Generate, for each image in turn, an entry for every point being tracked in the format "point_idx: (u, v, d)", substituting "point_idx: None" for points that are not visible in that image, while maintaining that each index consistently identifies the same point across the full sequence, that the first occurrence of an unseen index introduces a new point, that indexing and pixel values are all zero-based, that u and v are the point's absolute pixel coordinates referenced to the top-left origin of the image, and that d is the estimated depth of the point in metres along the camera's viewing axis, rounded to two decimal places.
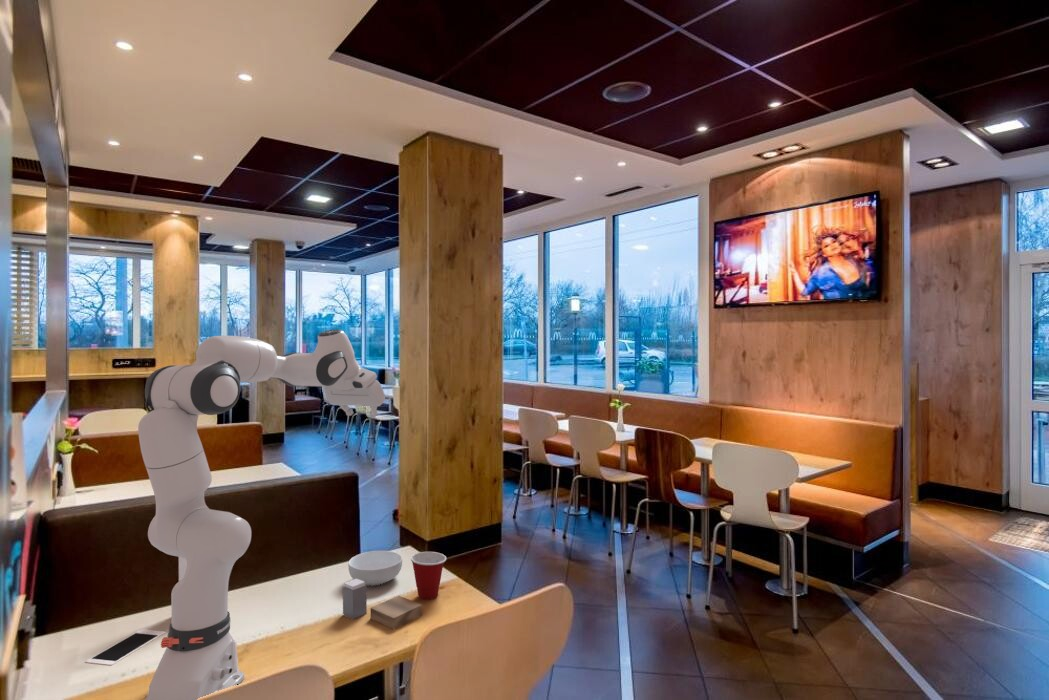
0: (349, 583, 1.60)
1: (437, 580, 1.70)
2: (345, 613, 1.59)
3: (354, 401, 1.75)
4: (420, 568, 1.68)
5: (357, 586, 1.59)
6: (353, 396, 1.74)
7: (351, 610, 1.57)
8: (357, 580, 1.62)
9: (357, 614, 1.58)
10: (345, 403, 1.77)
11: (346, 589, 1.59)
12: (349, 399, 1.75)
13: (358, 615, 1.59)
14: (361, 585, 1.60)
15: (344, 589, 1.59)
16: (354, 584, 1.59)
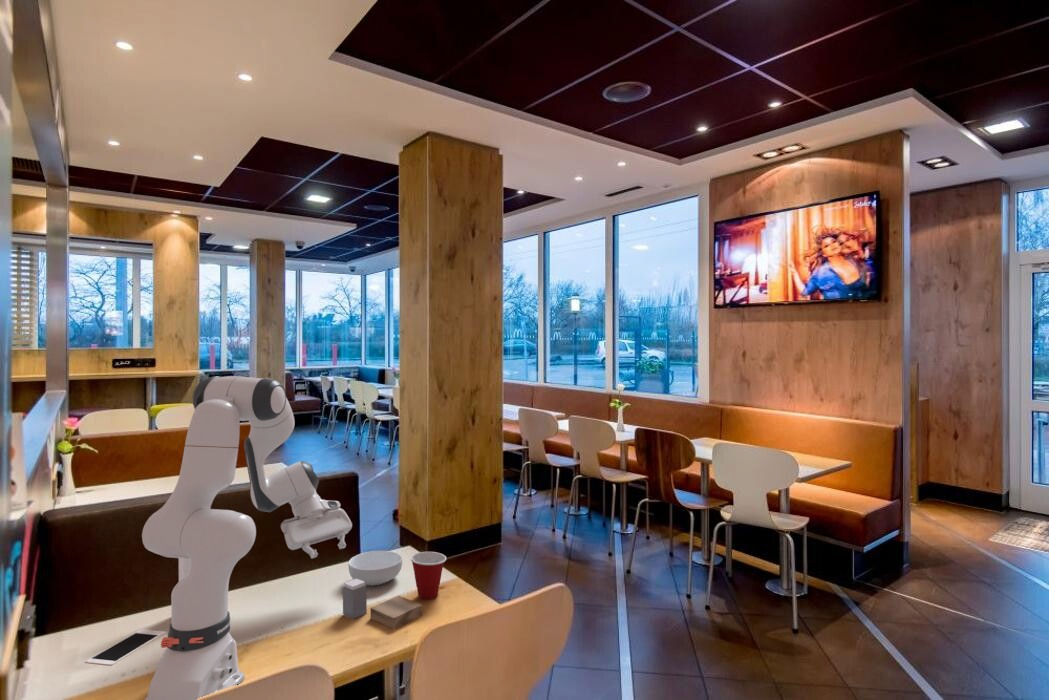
0: (349, 583, 1.60)
1: (437, 580, 1.70)
2: (345, 613, 1.59)
3: (325, 530, 1.70)
4: (420, 568, 1.68)
5: (357, 586, 1.59)
6: (324, 524, 1.72)
7: (351, 610, 1.57)
8: (357, 580, 1.62)
9: (357, 614, 1.58)
10: (314, 535, 1.67)
11: (346, 589, 1.59)
12: (319, 529, 1.70)
13: (358, 615, 1.59)
14: (361, 585, 1.60)
15: (344, 589, 1.59)
16: (354, 584, 1.59)
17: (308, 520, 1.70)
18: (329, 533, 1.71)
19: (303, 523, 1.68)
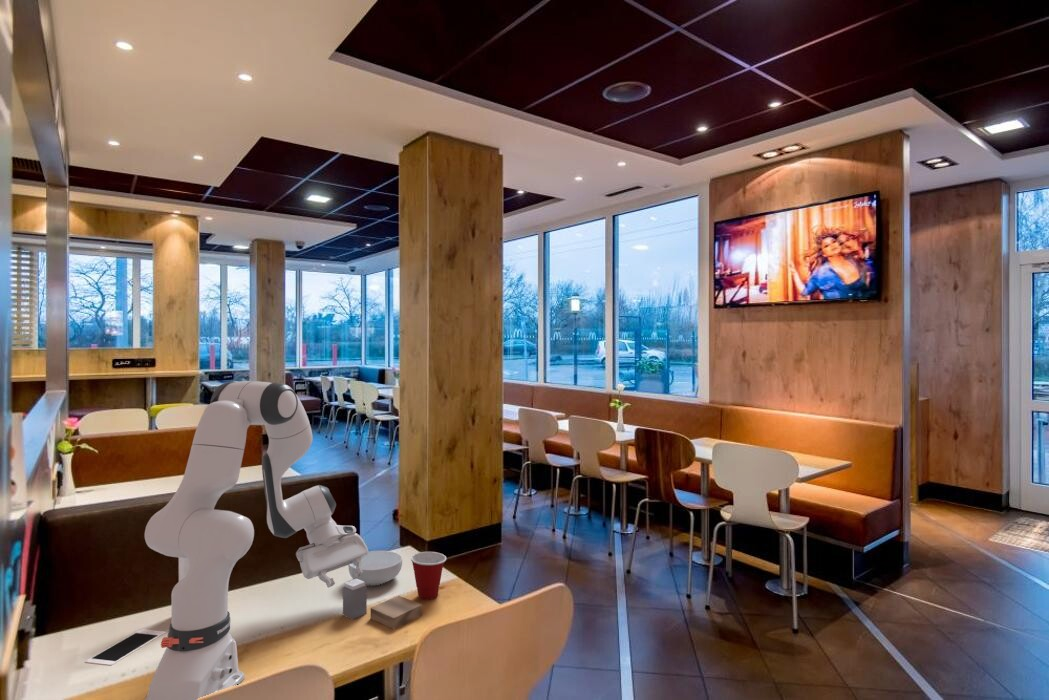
0: (349, 583, 1.60)
1: (437, 580, 1.70)
2: (345, 613, 1.59)
3: (341, 557, 1.65)
4: (420, 568, 1.68)
5: (357, 586, 1.59)
6: (340, 551, 1.66)
7: (351, 610, 1.57)
8: (357, 580, 1.62)
9: (357, 614, 1.58)
10: (331, 563, 1.62)
11: (346, 589, 1.59)
12: (335, 556, 1.65)
13: (358, 615, 1.59)
14: (361, 585, 1.60)
15: (344, 589, 1.59)
16: (354, 584, 1.59)
17: (324, 547, 1.64)
18: (345, 560, 1.66)
19: (319, 550, 1.63)
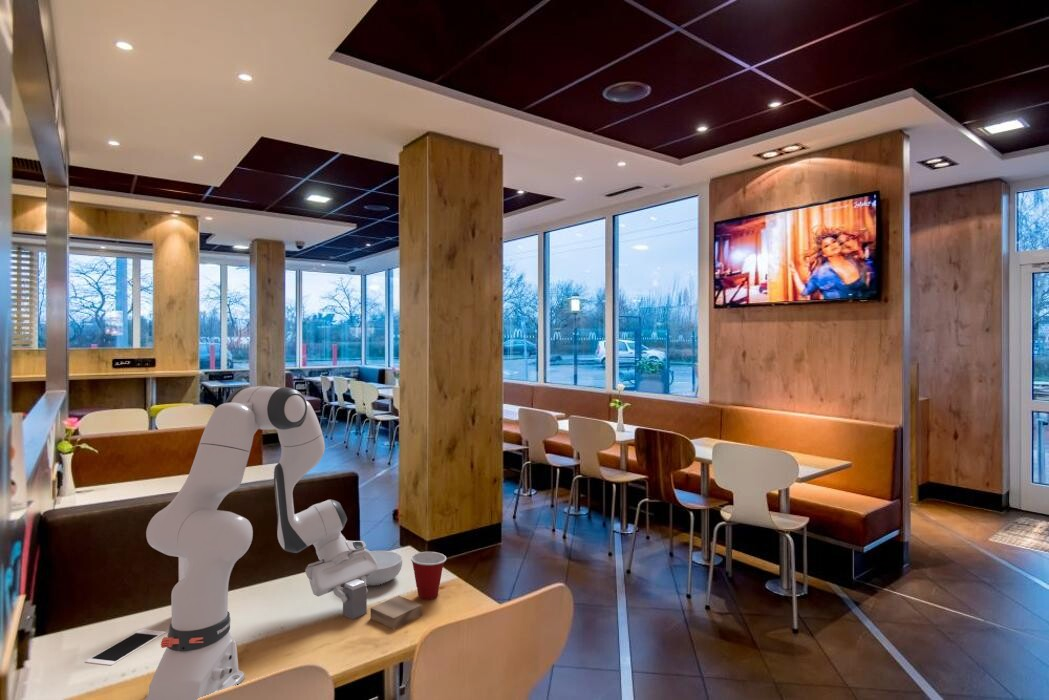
0: (349, 583, 1.60)
1: (437, 580, 1.70)
2: (345, 613, 1.59)
3: (351, 573, 1.62)
4: (420, 568, 1.68)
5: (357, 586, 1.59)
6: (350, 567, 1.64)
7: (351, 610, 1.57)
8: (357, 580, 1.62)
9: (357, 614, 1.58)
10: (341, 580, 1.59)
11: (346, 589, 1.59)
12: (345, 572, 1.62)
13: (358, 615, 1.59)
14: (361, 585, 1.60)
15: (344, 589, 1.59)
16: (354, 584, 1.59)
17: (333, 563, 1.62)
18: (355, 577, 1.63)
19: (328, 567, 1.60)
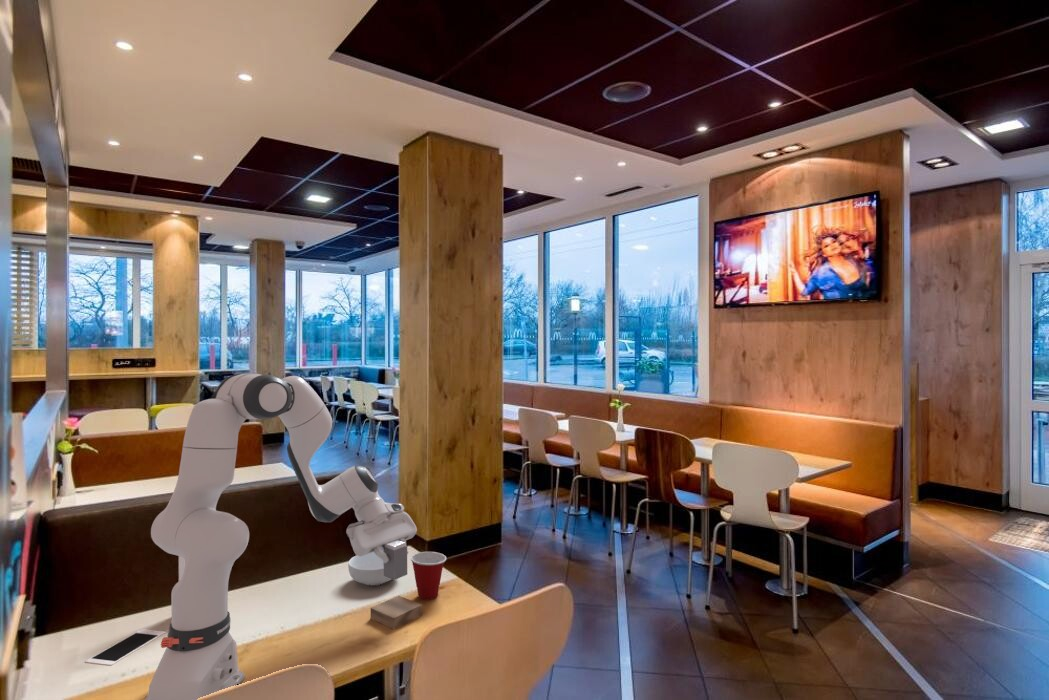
0: (390, 544, 1.58)
1: (437, 580, 1.70)
2: (386, 574, 1.57)
3: (391, 535, 1.61)
4: (420, 568, 1.68)
5: (398, 546, 1.57)
6: (389, 529, 1.62)
7: (393, 571, 1.56)
8: (397, 541, 1.60)
9: (398, 574, 1.57)
10: (381, 541, 1.57)
11: (387, 550, 1.57)
12: (385, 533, 1.60)
13: (399, 576, 1.57)
14: (402, 546, 1.58)
15: (385, 550, 1.58)
16: (395, 544, 1.57)
17: (374, 524, 1.60)
18: (395, 538, 1.61)
19: (369, 528, 1.58)
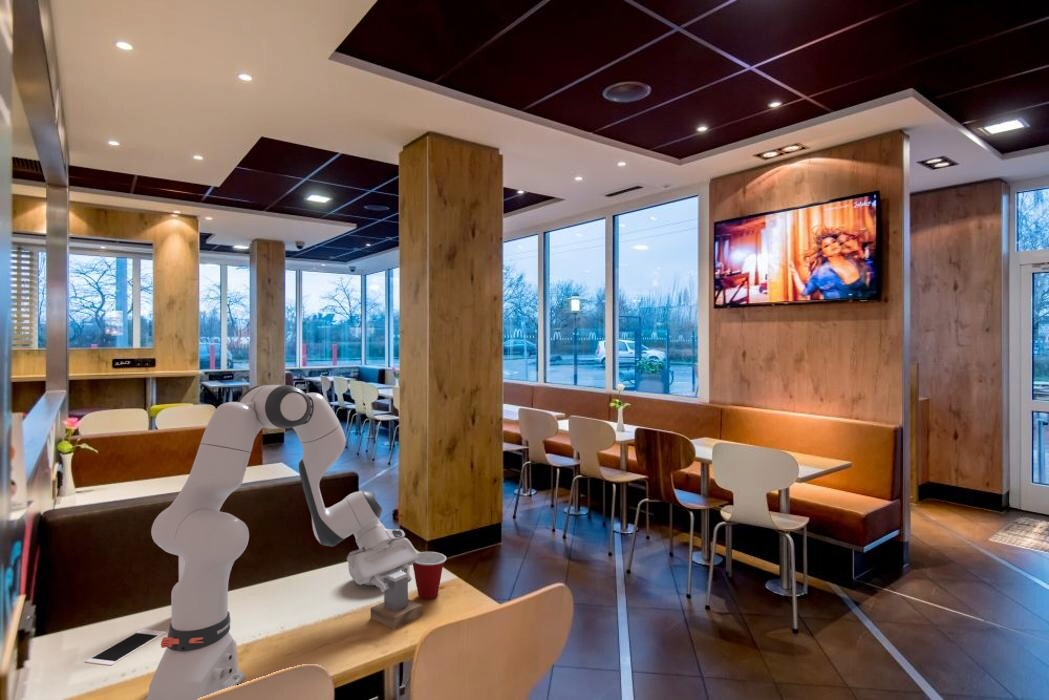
0: (390, 575, 1.58)
1: (437, 580, 1.70)
2: (386, 605, 1.57)
3: (392, 562, 1.60)
4: (420, 568, 1.68)
5: (399, 578, 1.57)
6: (390, 556, 1.62)
7: (393, 602, 1.55)
8: (398, 572, 1.60)
9: (399, 606, 1.56)
10: (382, 568, 1.57)
11: (388, 581, 1.57)
12: (386, 561, 1.60)
13: (400, 607, 1.57)
14: (403, 577, 1.58)
15: (385, 581, 1.57)
16: (396, 576, 1.57)
17: (374, 552, 1.60)
18: (396, 565, 1.61)
19: (370, 555, 1.58)
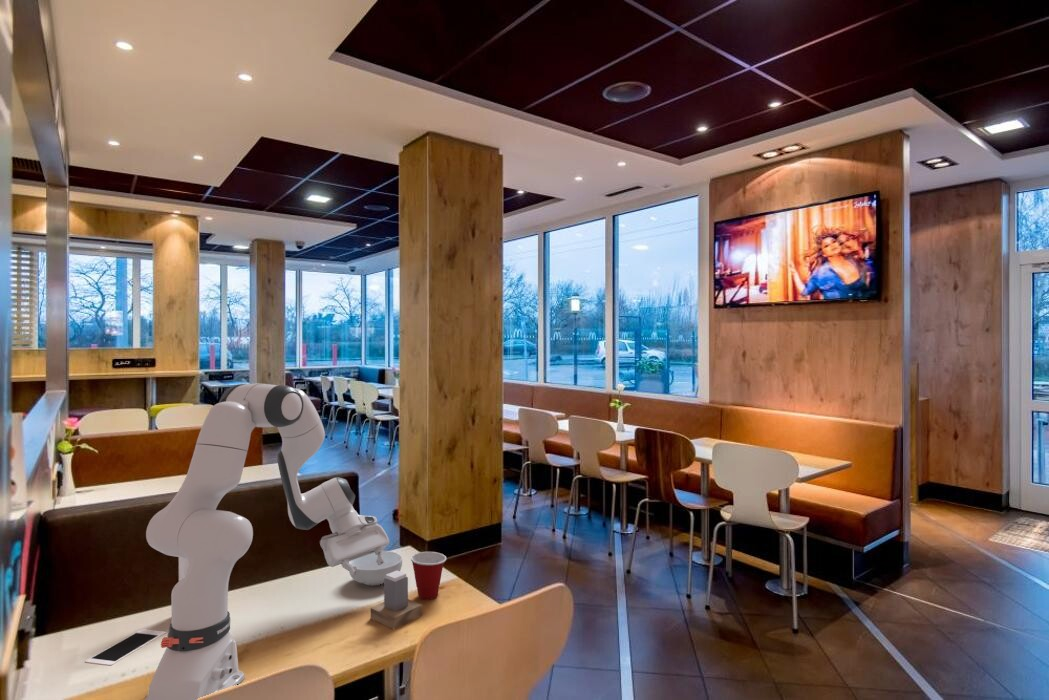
0: (390, 575, 1.58)
1: (437, 580, 1.70)
2: (386, 605, 1.57)
3: (363, 546, 1.69)
4: (420, 568, 1.68)
5: (399, 578, 1.57)
6: (362, 540, 1.70)
7: (393, 602, 1.55)
8: (398, 572, 1.60)
9: (399, 606, 1.56)
10: (354, 552, 1.65)
11: (388, 581, 1.57)
12: (358, 545, 1.68)
13: (400, 607, 1.57)
14: (403, 577, 1.58)
15: (385, 581, 1.57)
16: (396, 576, 1.57)
17: (346, 536, 1.68)
18: (367, 549, 1.69)
19: (342, 539, 1.66)
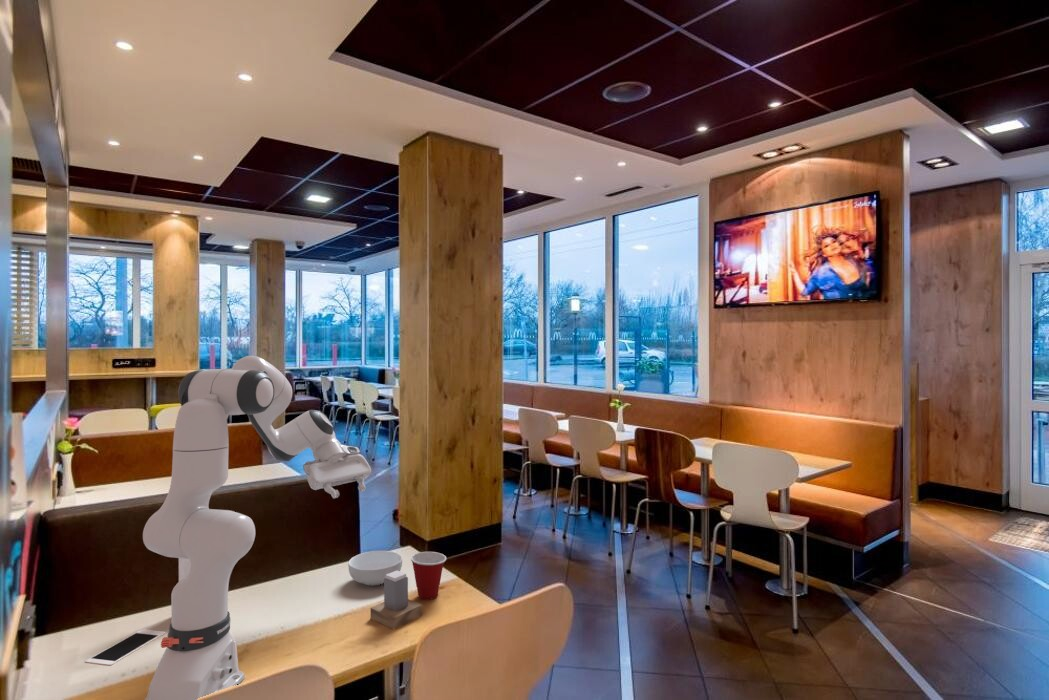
0: (390, 575, 1.58)
1: (437, 580, 1.70)
2: (386, 605, 1.57)
3: (345, 473, 1.74)
4: (420, 568, 1.68)
5: (399, 578, 1.57)
6: (344, 468, 1.75)
7: (393, 602, 1.55)
8: (398, 572, 1.60)
9: (399, 606, 1.56)
10: (336, 477, 1.71)
11: (388, 581, 1.57)
12: (340, 471, 1.73)
13: (400, 607, 1.57)
14: (403, 577, 1.58)
15: (385, 581, 1.57)
16: (396, 576, 1.57)
17: (329, 463, 1.73)
18: (349, 476, 1.74)
19: (324, 465, 1.72)
